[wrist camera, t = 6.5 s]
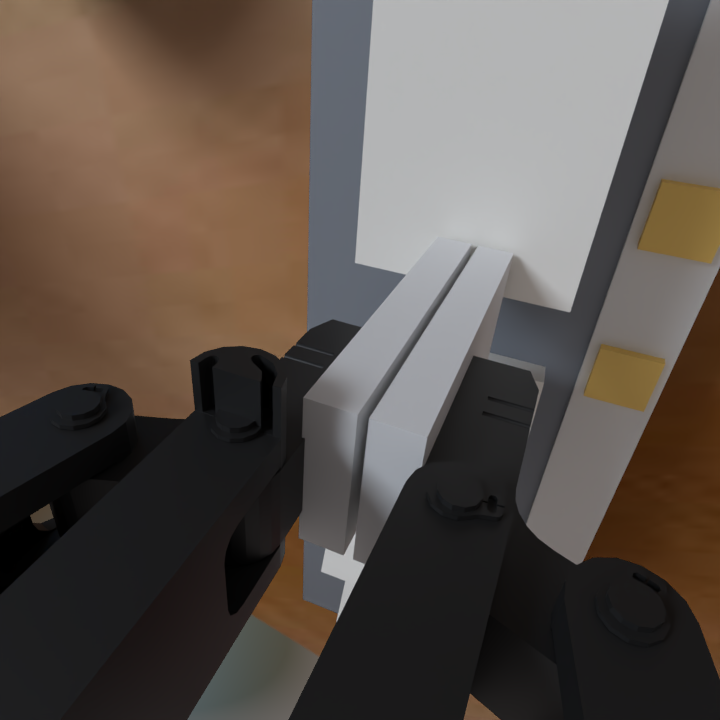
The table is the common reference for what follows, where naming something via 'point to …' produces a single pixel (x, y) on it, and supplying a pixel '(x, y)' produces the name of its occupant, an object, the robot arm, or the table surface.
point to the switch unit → (598, 282)
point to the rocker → (499, 130)
